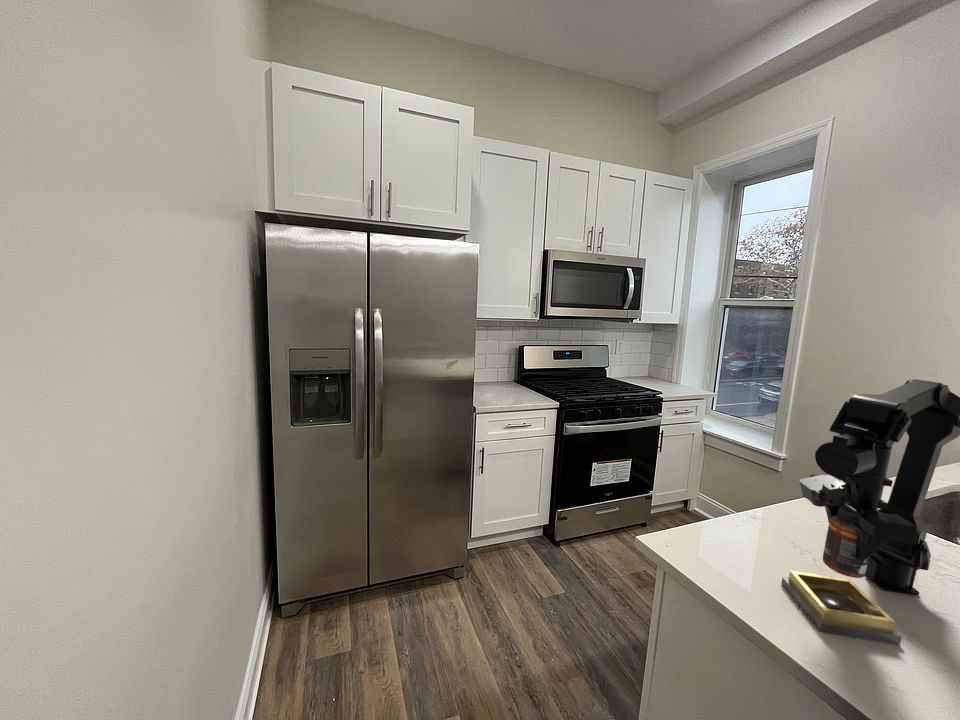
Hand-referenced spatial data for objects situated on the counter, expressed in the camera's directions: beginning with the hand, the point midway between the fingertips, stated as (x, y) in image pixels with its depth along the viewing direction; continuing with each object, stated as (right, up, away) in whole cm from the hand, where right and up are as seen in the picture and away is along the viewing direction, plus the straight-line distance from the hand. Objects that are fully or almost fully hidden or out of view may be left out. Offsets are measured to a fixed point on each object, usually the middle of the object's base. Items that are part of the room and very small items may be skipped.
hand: (847, 548), depth 72 cm
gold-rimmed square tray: (-1, -13, +2) cm, 13 cm away
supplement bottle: (0, -4, +1) cm, 4 cm away
